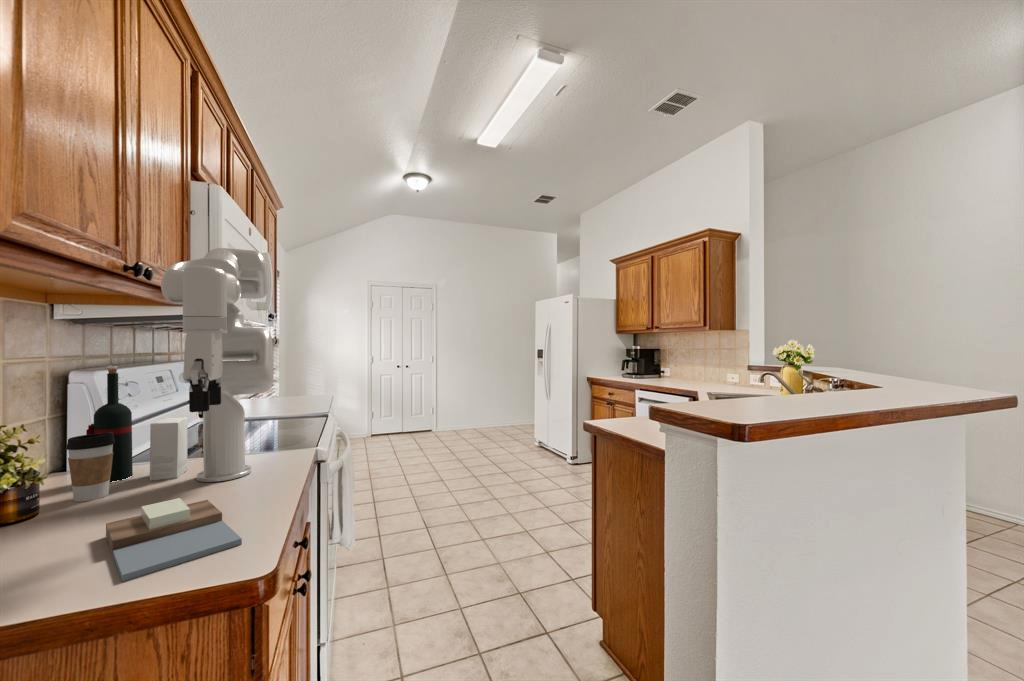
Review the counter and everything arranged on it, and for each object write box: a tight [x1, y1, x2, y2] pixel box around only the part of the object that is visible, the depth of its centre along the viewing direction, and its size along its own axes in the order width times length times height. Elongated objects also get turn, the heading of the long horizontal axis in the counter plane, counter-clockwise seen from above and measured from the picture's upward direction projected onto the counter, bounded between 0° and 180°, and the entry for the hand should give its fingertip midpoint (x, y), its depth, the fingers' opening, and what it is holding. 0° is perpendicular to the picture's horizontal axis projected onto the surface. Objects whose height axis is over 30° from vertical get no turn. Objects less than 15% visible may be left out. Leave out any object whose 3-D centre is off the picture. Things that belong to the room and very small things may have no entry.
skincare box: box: [149, 416, 189, 481], centre depth 119 cm, size 8×7×16 cm
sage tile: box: [141, 497, 190, 530], centre depth 83 cm, size 9×6×2 cm, turn 48°
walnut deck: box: [105, 499, 223, 556], centre depth 83 cm, size 11×16×2 cm
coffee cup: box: [65, 432, 115, 503], centre depth 102 cm, size 8×8×15 cm
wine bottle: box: [85, 368, 134, 482], centre depth 115 cm, size 8×10×30 cm
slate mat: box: [112, 520, 243, 583], centre depth 75 cm, size 12×16×1 cm
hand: (206, 408), depth 89 cm, fingers open, 9 cm apart
